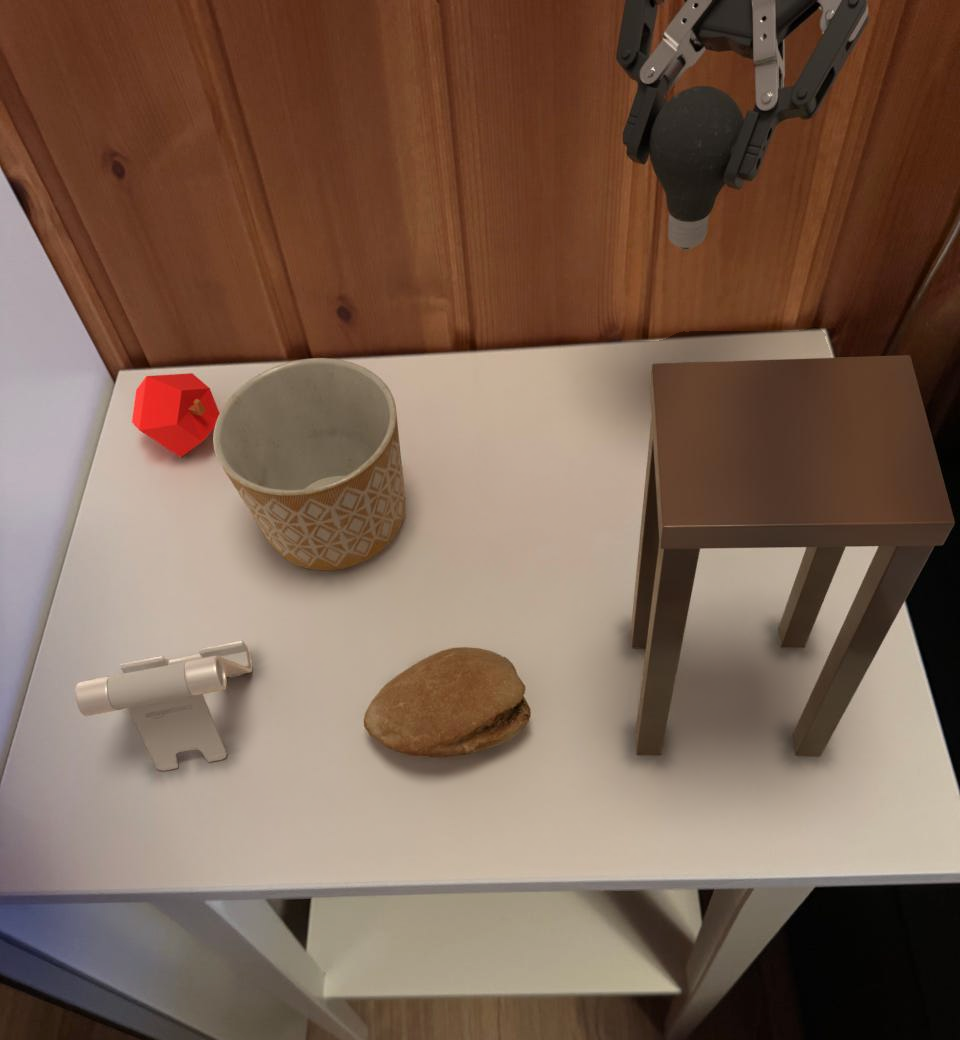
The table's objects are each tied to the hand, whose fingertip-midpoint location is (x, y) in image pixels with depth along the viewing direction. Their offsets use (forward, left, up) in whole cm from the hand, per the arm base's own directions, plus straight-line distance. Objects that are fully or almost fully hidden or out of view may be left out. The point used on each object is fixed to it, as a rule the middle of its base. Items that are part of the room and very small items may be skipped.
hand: (683, 171), depth 56 cm
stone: (+15, +25, -22) cm, 37 cm away
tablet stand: (+33, +25, -22) cm, 47 cm away
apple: (+39, -1, -22) cm, 45 cm away
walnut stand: (-3, +23, -22) cm, 32 cm away
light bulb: (-1, -2, -6) cm, 7 cm away
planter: (+25, +8, -22) cm, 34 cm away
